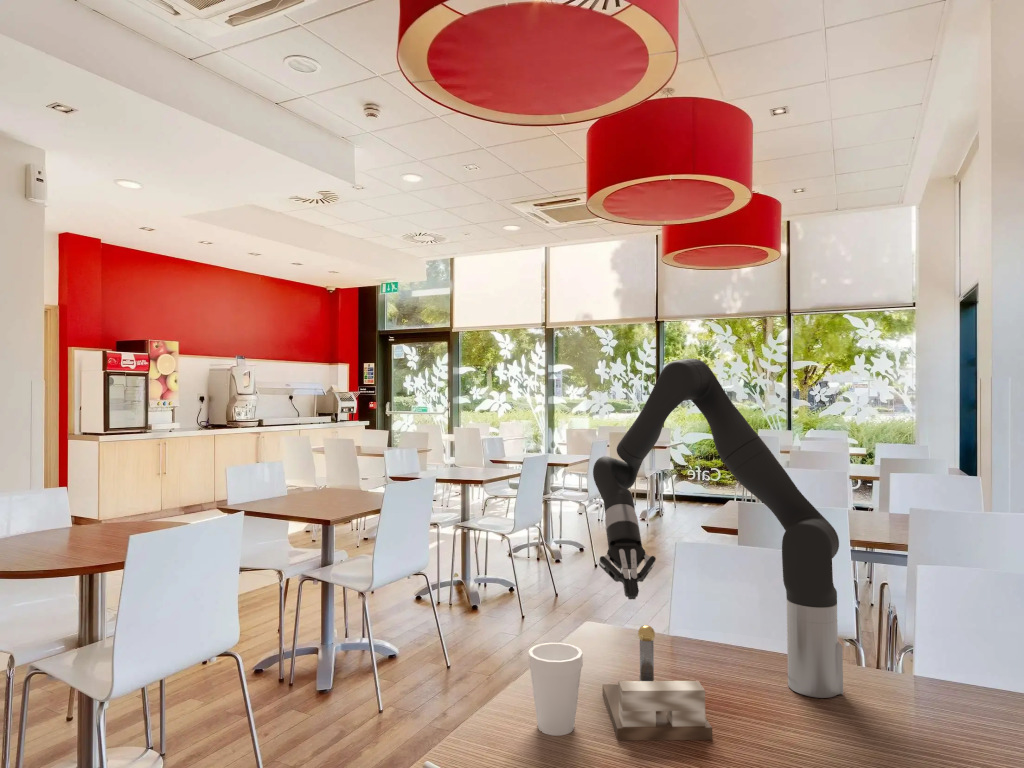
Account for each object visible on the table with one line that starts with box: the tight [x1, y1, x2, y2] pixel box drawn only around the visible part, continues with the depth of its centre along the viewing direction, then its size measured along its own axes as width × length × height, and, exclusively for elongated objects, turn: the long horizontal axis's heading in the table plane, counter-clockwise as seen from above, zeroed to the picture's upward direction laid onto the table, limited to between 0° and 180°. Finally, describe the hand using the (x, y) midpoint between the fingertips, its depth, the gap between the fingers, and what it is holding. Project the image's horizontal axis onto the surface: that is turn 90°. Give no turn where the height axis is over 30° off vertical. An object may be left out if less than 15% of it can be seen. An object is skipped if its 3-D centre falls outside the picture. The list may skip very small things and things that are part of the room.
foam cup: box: [527, 642, 584, 737], centre depth 119 cm, size 10×9×13 cm
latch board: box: [601, 680, 713, 741], centre depth 123 cm, size 16×18×8 cm
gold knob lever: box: [637, 624, 656, 681], centre depth 126 cm, size 3×9×12 cm, turn 0°
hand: (632, 597), depth 144 cm, fingers closed
